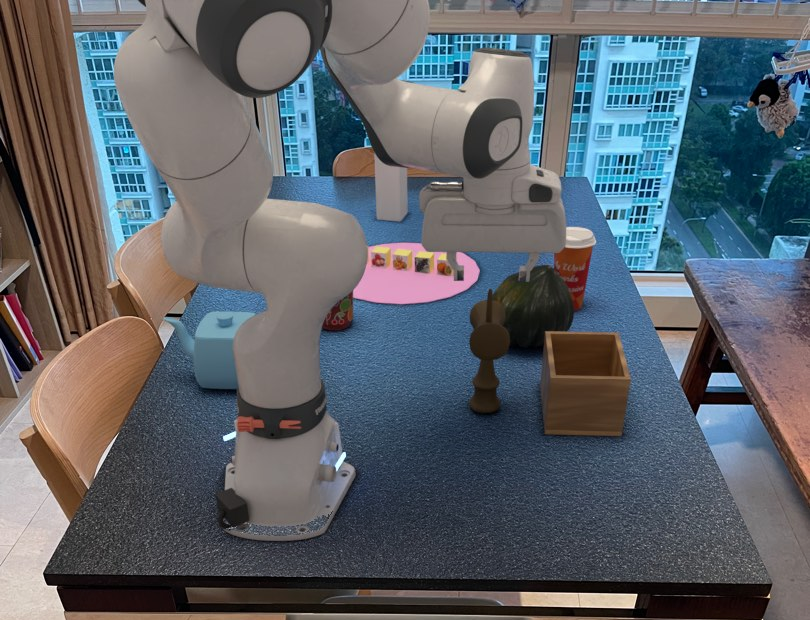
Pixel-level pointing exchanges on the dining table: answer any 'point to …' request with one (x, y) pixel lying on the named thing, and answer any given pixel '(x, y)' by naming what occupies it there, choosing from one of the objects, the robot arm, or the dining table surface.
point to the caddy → (584, 383)
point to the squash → (535, 306)
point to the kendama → (487, 351)
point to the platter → (411, 275)
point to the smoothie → (340, 314)
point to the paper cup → (575, 262)
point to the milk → (390, 191)
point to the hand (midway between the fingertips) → (491, 279)
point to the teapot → (213, 347)
